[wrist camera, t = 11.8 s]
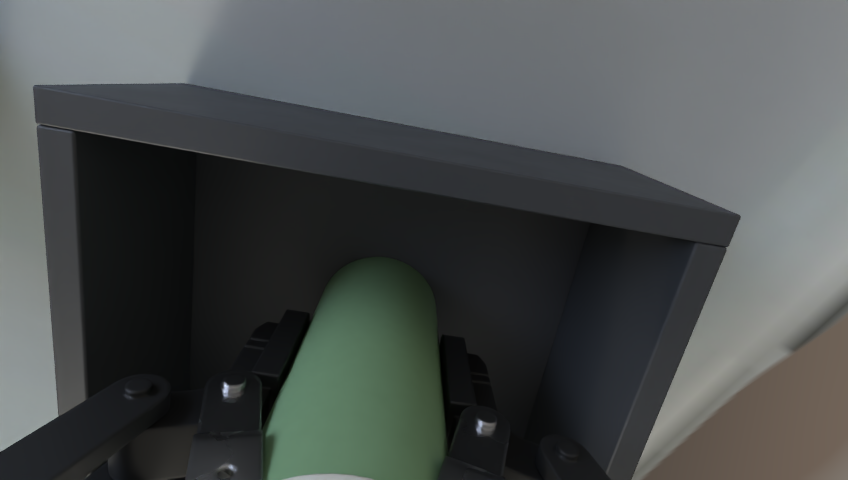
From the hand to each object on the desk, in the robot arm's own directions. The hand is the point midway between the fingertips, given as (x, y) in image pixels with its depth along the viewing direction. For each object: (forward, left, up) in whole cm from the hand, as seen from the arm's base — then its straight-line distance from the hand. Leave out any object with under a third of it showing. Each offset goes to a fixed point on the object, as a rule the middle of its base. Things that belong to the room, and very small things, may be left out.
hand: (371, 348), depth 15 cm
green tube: (0, 0, -3) cm, 3 cm away
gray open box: (0, 0, -3) cm, 3 cm away
